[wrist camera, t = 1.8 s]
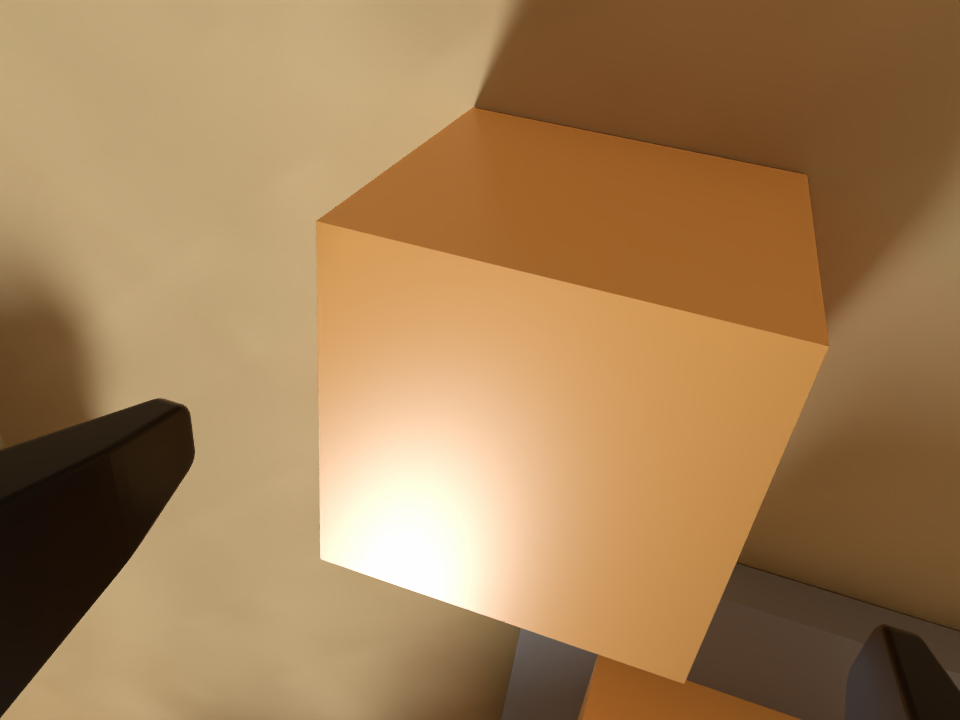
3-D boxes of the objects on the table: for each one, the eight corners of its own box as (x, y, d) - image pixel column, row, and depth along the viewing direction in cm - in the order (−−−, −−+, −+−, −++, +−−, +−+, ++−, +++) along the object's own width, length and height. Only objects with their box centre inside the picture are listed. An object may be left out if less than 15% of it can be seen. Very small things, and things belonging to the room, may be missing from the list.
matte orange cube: (710, 446, 16) (684, 684, 11) (446, 372, 17) (320, 559, 13) (807, 175, 13) (829, 346, 8) (472, 107, 14) (316, 220, 9)
